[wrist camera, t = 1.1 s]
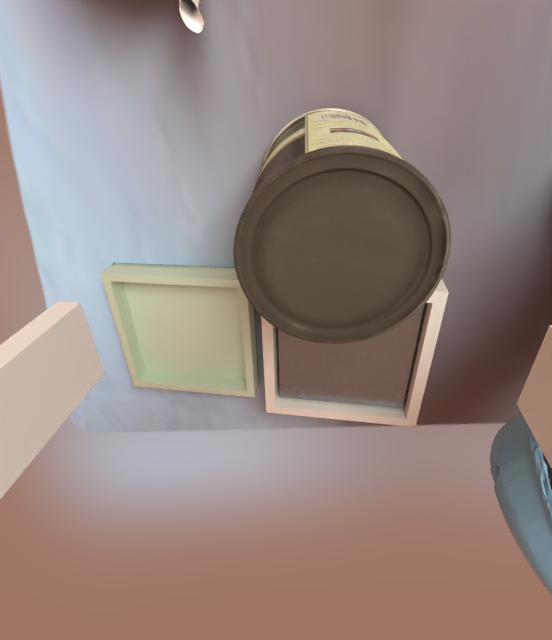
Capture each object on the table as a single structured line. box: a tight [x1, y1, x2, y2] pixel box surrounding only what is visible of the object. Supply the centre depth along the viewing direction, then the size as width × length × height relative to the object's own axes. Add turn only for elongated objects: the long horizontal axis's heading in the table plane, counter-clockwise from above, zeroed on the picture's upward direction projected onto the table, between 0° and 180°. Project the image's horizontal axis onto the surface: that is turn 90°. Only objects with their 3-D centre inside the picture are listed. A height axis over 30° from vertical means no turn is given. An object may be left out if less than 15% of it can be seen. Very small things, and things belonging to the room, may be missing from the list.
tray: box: [100, 263, 259, 398], centre depth 39 cm, size 14×14×2 cm
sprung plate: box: [278, 304, 425, 408], centre depth 35 cm, size 12×12×1 cm
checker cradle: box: [261, 279, 449, 427], centre depth 36 cm, size 15×15×4 cm
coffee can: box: [234, 108, 451, 344], centre depth 24 cm, size 10×10×14 cm
